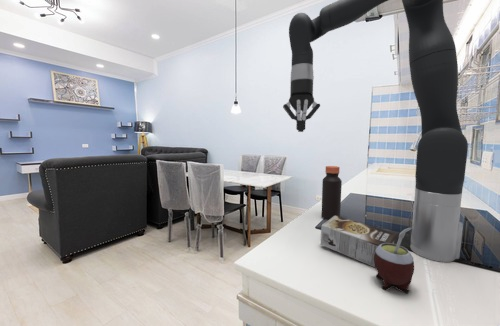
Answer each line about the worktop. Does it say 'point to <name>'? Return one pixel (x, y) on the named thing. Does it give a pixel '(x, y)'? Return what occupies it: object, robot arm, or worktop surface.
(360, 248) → the coffee box
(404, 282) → the mate gourd
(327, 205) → the bottle
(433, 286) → the worktop surface
